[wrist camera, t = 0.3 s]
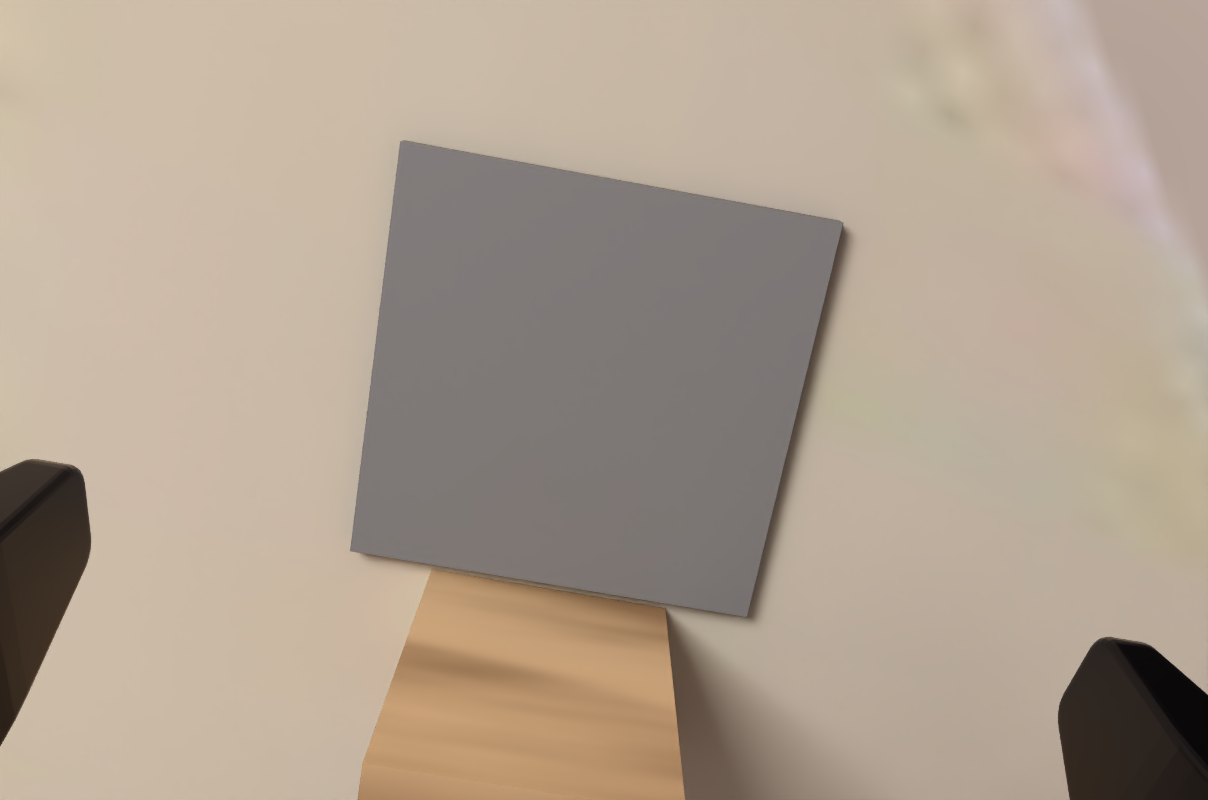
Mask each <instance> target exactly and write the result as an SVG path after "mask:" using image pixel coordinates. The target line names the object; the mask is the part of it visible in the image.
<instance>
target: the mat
mask: <svg viewBox="0 0 1208 800" xmlns="http://www.w3.org/2000/svg"><path fill="white" fill-rule="evenodd" d="M842 226H843V223H842V222H841V221H838V220H832V219H827V218H822V217H816V216H811V215H805V214H800V213H794V212H789V211H784V210H778V209H773V208H767V207H762V206H756V205H751V204H746V203H740V202H735V201H729V200H724V199H719V198H713V197H708V196H702V195H697V194H691V193H686V192H681V191H675V190H670V189H664V188H659V187H653V186H648V185H643V184H637V183H632V182H626V181H621V180H615V179H610V178H605V177H599V176H594V175H588V174H583V173H578V172H572V171H567V170H561V169H556V168H550V167H545V166H540V165H534V164H529V163H523V162H518V161H512V160H507V159H502V158H496V157H491V156H485V155H480V154H474V153H469V152H464V151H458V150H453V149H447V148H442V147H437V146H431V145H426V144H420V143H415V142H409V141H404V140H403V141H400V148H399V156H398V164H397V173H396V181H395V189H394V197H393V205H392V213H391V222H390V230H389V238H388V246H387V254H386V262H385V271H384V279H383V287H382V295H381V303H380V311H379V320H378V328H377V336H376V344H375V352H374V360H373V369H372V377H371V385H370V393H369V401H368V410H367V418H366V426H365V434H364V442H363V450H362V459H361V467H360V475H359V483H358V491H357V499H356V508H355V516H354V524H353V532H352V540H351V548H350V551H352V552H358V553H364V554H370V555H376V556H382V557H388V558H394V559H400V560H406V561H412V562H418V563H424V564H430V565H436V566H442V567H448V568H454V569H460V570H466V571H472V572H478V573H484V574H490V575H496V576H502V577H508V578H514V579H520V580H526V581H533V582H539V583H545V584H551V585H557V586H563V587H569V588H575V589H581V590H587V591H593V592H599V593H605V594H611V595H617V596H623V597H629V598H635V599H641V600H647V601H653V602H659V603H665V604H671V605H677V606H683V607H689V608H695V609H701V610H707V611H713V612H719V613H725V614H731V615H737V616H743V617H747V614H748V610H749V606H750V602H751V598H752V594H753V590H754V586H755V581H756V577H757V573H758V569H759V565H760V561H761V557H762V553H763V549H764V545H765V541H766V536H767V532H768V528H769V524H770V520H771V516H772V512H773V508H774V504H775V500H776V496H777V491H778V487H779V483H780V479H781V475H782V471H783V467H784V463H785V459H786V455H787V451H788V447H789V442H790V438H791V434H792V430H793V426H794V422H795V418H796V414H797V410H798V406H799V402H800V397H801V393H802V389H803V385H804V381H805V377H806V373H807V369H808V365H809V361H810V357H811V352H812V348H813V344H814V340H815V336H816V332H817V328H818V324H819V320H820V316H821V312H822V307H823V303H824V299H825V295H826V291H827V287H828V283H829V279H830V275H831V271H832V267H833V263H834V258H835V254H836V250H837V246H838V242H839V238H840V234H841V230H842Z"/></svg>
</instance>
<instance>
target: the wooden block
mask: <svg viewBox="0 0 1208 800" xmlns="http://www.w3.org/2000/svg"><path fill="white" fill-rule="evenodd" d="M358 800H685V794H684V784H683V775H682V765H681V755H680V746H679V736H678V727H677V717H676V708H675V698H674V688H673V679H672V669H671V660H670V650H669V640H668V631H667V621H666V612H665V608H662V607H656V606H650V605H644V604H638V603H632V602H626V601H620V600H614V599H608V598H602V597H596V596H590V595H584V594H578V593H572V592H566V591H559V590H553V589H547V588H541V587H535V586H529V585H523V584H517V583H511V582H505V581H499V580H493V579H487V578H481V577H475V576H469V575H463V574H457V573H451V572H445V571H439V570H433V569H432V570H431V573H430V576H429V579H428V581H427V584H426V587H425V590H424V593H423V595H422V598H421V601H420V604H419V607H418V609H417V612H416V615H415V618H414V621H413V623H412V626H411V629H410V632H409V635H408V637H407V640H406V643H405V646H404V649H403V651H402V654H401V657H400V660H399V663H398V665H397V668H396V671H395V674H394V677H393V679H392V682H391V685H390V688H389V691H388V693H387V696H386V699H385V702H384V705H383V707H382V710H381V713H380V716H379V719H378V721H377V724H376V727H375V730H374V733H373V735H372V738H371V741H370V744H369V747H368V749H367V752H366V755H365V758H364V761H363V763H362V771H361V778H360V786H359V793H358Z"/></svg>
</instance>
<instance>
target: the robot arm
mask: <svg viewBox="0 0 1208 800" xmlns="http://www.w3.org/2000/svg"><path fill="white" fill-rule="evenodd" d="M90 549H91V533H90V524H89V516H88V507H87V498H86V490H85V482H84V478H83V475H82V473H81V471H80V470H79V469H78V468H76V467H75V466H73V465H69V464H63V463H57V462H51V461H45V460H39V459H30V460H25V461H23V462H20V463H18V464H16V465H14V466H11V467H9V468H7V469H5V470H3V471H1V472H0V746H1V744H2V742H3V741H4V739H5V737H6V735H7V734H8V732H9V730H10V728H11V726H12V725H13V723H14V721H15V719H16V717H17V715H18V713H19V711H20V709H21V707H22V705H23V703H24V701H25V699H26V697H27V695H28V693H29V691H30V688H31V686H32V684H33V682H34V680H35V677H36V675H37V673H38V671H39V669H40V666H41V664H42V662H43V660H44V658H45V655H46V653H47V651H48V649H49V647H50V644H51V642H52V640H53V638H54V636H55V633H56V631H57V629H58V627H59V625H60V622H61V620H62V618H63V616H64V614H65V611H66V609H67V607H68V605H69V603H70V600H71V598H72V596H73V594H74V592H75V589H76V587H77V585H78V583H79V581H80V578H81V576H82V574H83V572H84V570H85V567H86V565H87V562H88V558H89V554H90ZM1058 725H1059V733H1060V739H1061V746H1062V752H1063V759H1064V765H1065V772H1066V778H1067V785H1068V791H1069V798H1070V800H1208V695H1207V694H1206V693H1205V692H1204V691H1203V690H1202V689H1200V688H1199V687H1198V686H1197V685H1196V684H1195V683H1193V682H1192V681H1191V680H1190V679H1189V678H1188V677H1187V676H1185V675H1184V674H1183V673H1182V672H1181V671H1180V670H1179V669H1177V668H1176V667H1175V666H1174V665H1173V664H1172V663H1170V662H1169V661H1168V660H1167V659H1166V658H1165V657H1164V656H1162V655H1161V654H1160V653H1159V652H1158V651H1157V650H1156V649H1154V648H1153V647H1152V646H1150V645H1148V644H1146V643H1142V642H1138V641H1131V640H1125V639H1119V638H1113V637H1104V638H1101V639H1099V640H1097V641H1096V642H1095V643H1094V644H1093V645H1092V647H1091V648H1090V650H1089V651H1088V653H1087V655H1086V656H1085V658H1084V660H1083V662H1082V663H1081V665H1080V667H1079V668H1078V670H1077V672H1076V674H1075V675H1074V677H1073V679H1072V680H1071V682H1070V684H1069V686H1068V687H1067V689H1066V691H1065V692H1064V694H1063V697H1062V699H1061V702H1060V705H1059V711H1058Z"/></svg>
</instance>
